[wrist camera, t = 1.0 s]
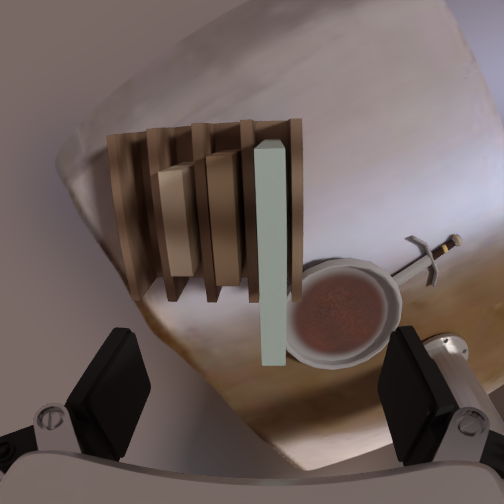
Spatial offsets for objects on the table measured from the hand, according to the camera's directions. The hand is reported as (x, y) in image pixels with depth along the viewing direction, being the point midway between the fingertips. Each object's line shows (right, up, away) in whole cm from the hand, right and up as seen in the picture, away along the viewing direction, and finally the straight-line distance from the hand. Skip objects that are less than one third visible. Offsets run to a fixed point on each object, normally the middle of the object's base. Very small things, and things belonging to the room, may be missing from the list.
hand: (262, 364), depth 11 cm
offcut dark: (-2, +9, +25) cm, 26 cm away
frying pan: (+16, -1, +29) cm, 33 cm away
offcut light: (-7, +9, +25) cm, 27 cm away
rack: (-4, +10, +26) cm, 28 cm away
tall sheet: (+2, +9, +24) cm, 26 cm away
